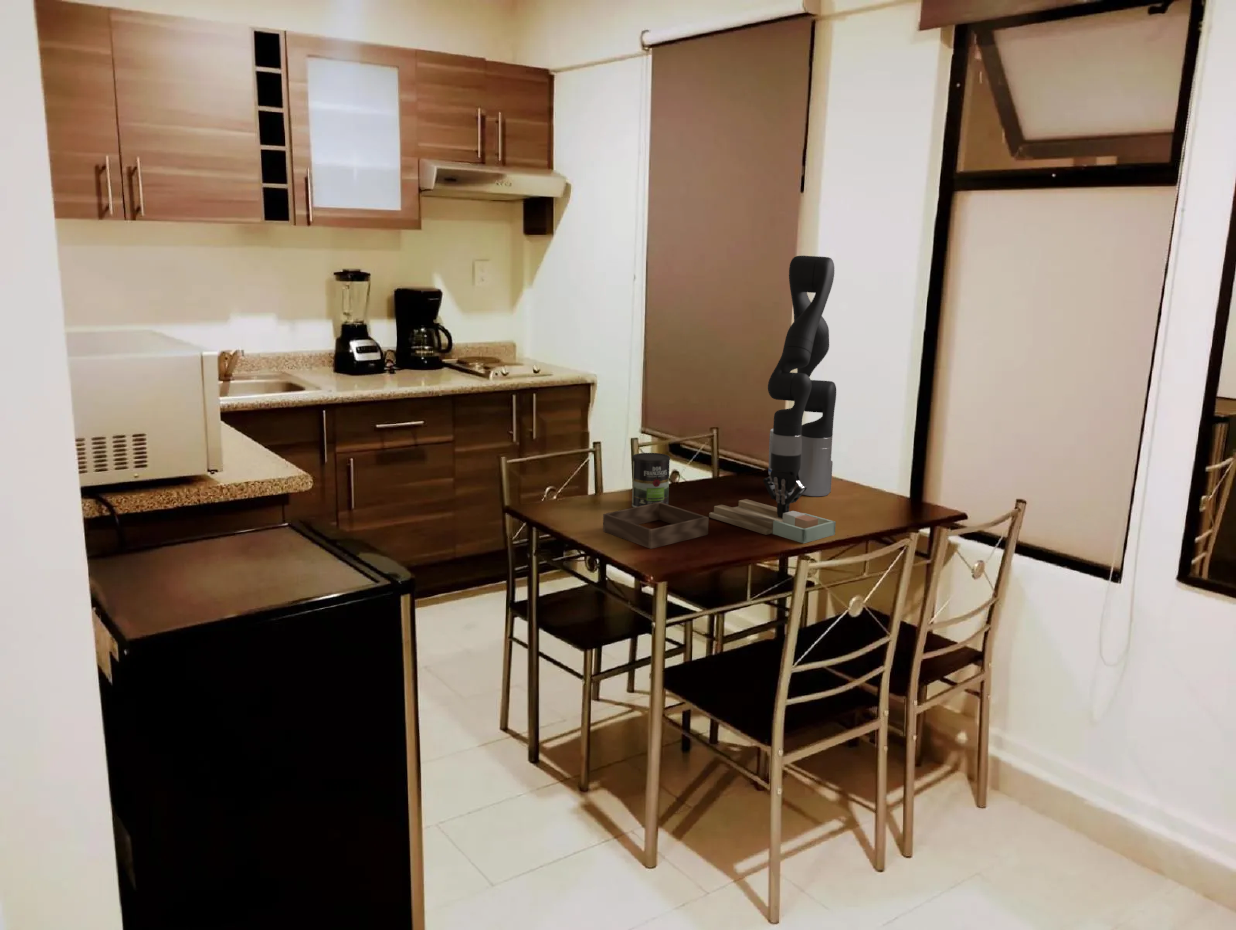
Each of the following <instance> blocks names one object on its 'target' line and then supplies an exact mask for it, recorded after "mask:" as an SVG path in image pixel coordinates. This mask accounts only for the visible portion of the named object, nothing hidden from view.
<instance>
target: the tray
mask: <svg viewBox="0 0 1236 930" xmlns="http://www.w3.org/2000/svg"><path fill="white" fill-rule="evenodd" d="M802 513H803V514H806V515H807V516H811V517H814V518H818V525H816V526H813V527H809V528H805V529H803V528H800V527H797V526H793V525H790V524H786V523H783V522H780V521H776V520H775V521H773V533H772V535H775V536H779V537H782V538H785V539H788V540H790V541H791V540H792V541H794V542H798V543H801V544H806V543H810V542H814V541H818V540H821V539H824V538H828V537H832V536H835V535H836V524H837V523H836V522H837V521H834V520H832V519H827V518H824V517H820V516H816V515H813V514H809V513H806V512H802Z"/></svg>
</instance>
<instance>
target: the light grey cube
mask: <svg viewBox="0 0 1236 930" xmlns="http://www.w3.org/2000/svg"><path fill="white" fill-rule="evenodd" d="M789 511H790V510H789ZM803 513H804V512H801V511H800V512H799V511H795V510H791V511H790V512H786V513H783V521H782V522H783V523H786V524H790V525H793V526H795V518H796V517H800V516H804V515H806V514H807V513H806V514H803Z"/></svg>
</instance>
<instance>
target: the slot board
mask: <svg viewBox="0 0 1236 930" xmlns="http://www.w3.org/2000/svg"><path fill="white" fill-rule="evenodd" d="M789 512H790V510H789ZM708 517H709V518H711V519H713V520H717V521H721V522H724V523H727V524H731V525H733V526H737V527H740V528H743V529H747V530H750V531H753V532H756V533H759V534H763V535H770V534H773V521H775V520H776V521H780V522H782V521H783V518H779V517H778V515H777V506H772V505H769V504H766V503H765V504H764V503H761V502H757V501H755V500H750V499H748V498H745V499H741V500H738V506H733V507H731V506H728V505H724V504H719V505H714V506H713V511H712V512H711V511H710V512H709V514H708Z"/></svg>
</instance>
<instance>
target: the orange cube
mask: <svg viewBox="0 0 1236 930" xmlns="http://www.w3.org/2000/svg"><path fill="white" fill-rule="evenodd" d="M816 525H818V518H814V517H811V516H807V515H804V516H800V517H796V518H795V526H797V527H800V528H803V529H805V528H809V527H813V526H816Z"/></svg>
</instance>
